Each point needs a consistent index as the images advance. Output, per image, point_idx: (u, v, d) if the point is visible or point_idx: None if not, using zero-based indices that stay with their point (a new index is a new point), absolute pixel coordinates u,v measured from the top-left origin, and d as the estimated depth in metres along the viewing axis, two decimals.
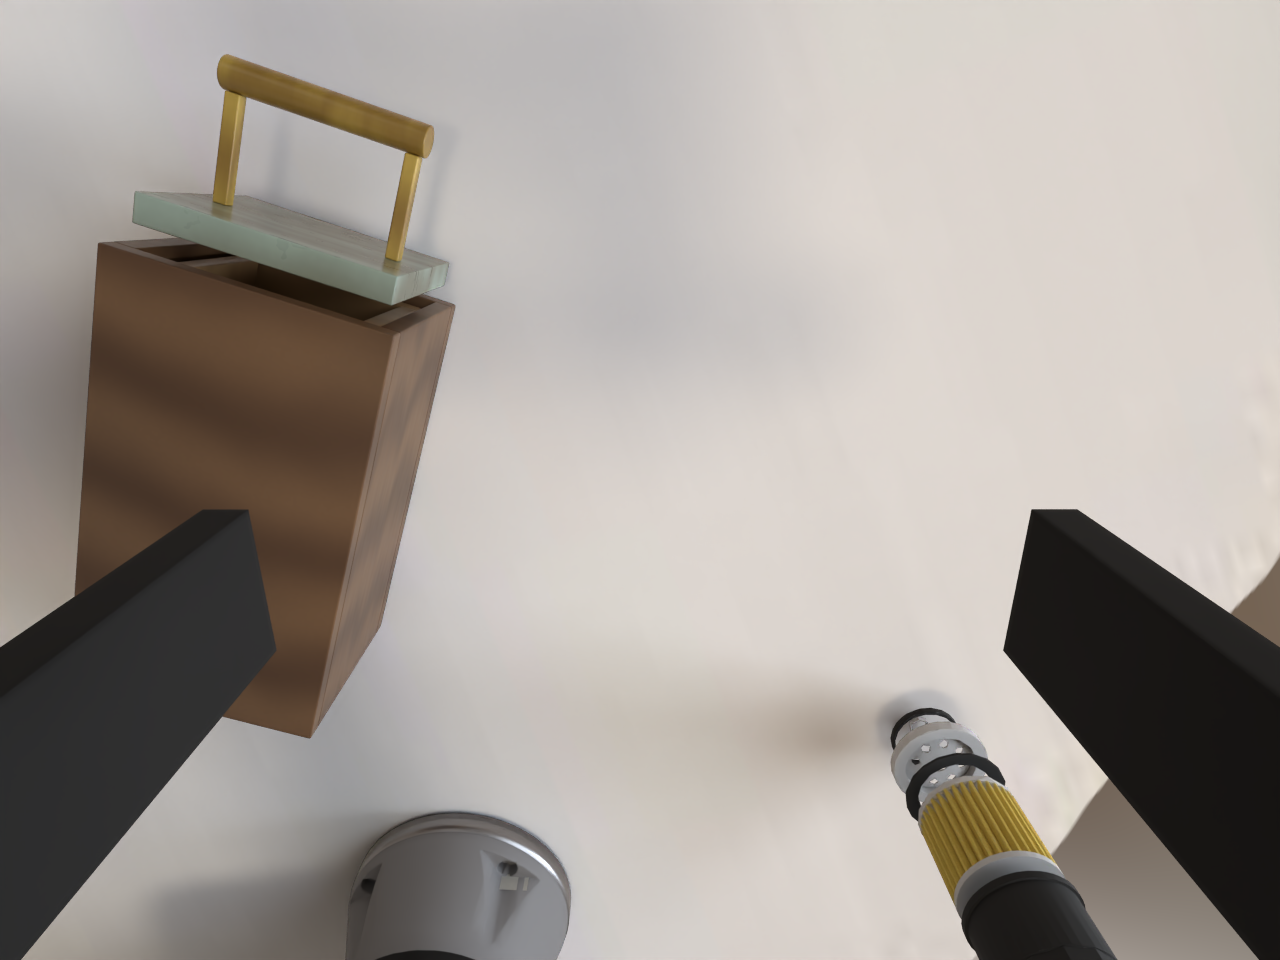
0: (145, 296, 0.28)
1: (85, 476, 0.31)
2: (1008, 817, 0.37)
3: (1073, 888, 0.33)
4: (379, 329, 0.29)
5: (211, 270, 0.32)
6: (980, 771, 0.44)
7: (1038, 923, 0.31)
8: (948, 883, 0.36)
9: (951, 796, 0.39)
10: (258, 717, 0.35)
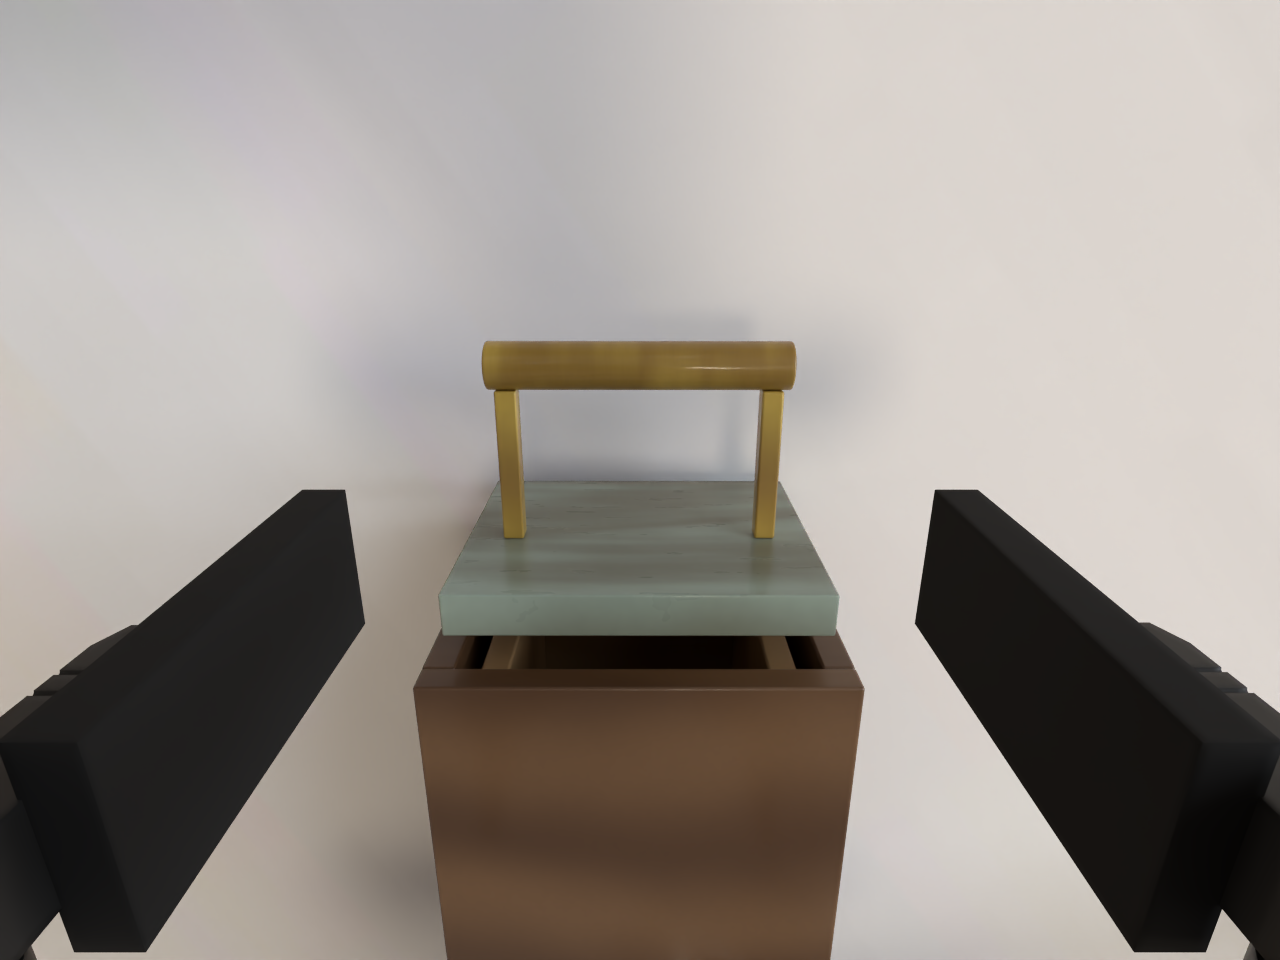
0: (492, 736, 0.19)
1: None
2: None
3: None
4: (835, 681, 0.18)
5: None
6: None
7: None
8: None
9: None
10: None
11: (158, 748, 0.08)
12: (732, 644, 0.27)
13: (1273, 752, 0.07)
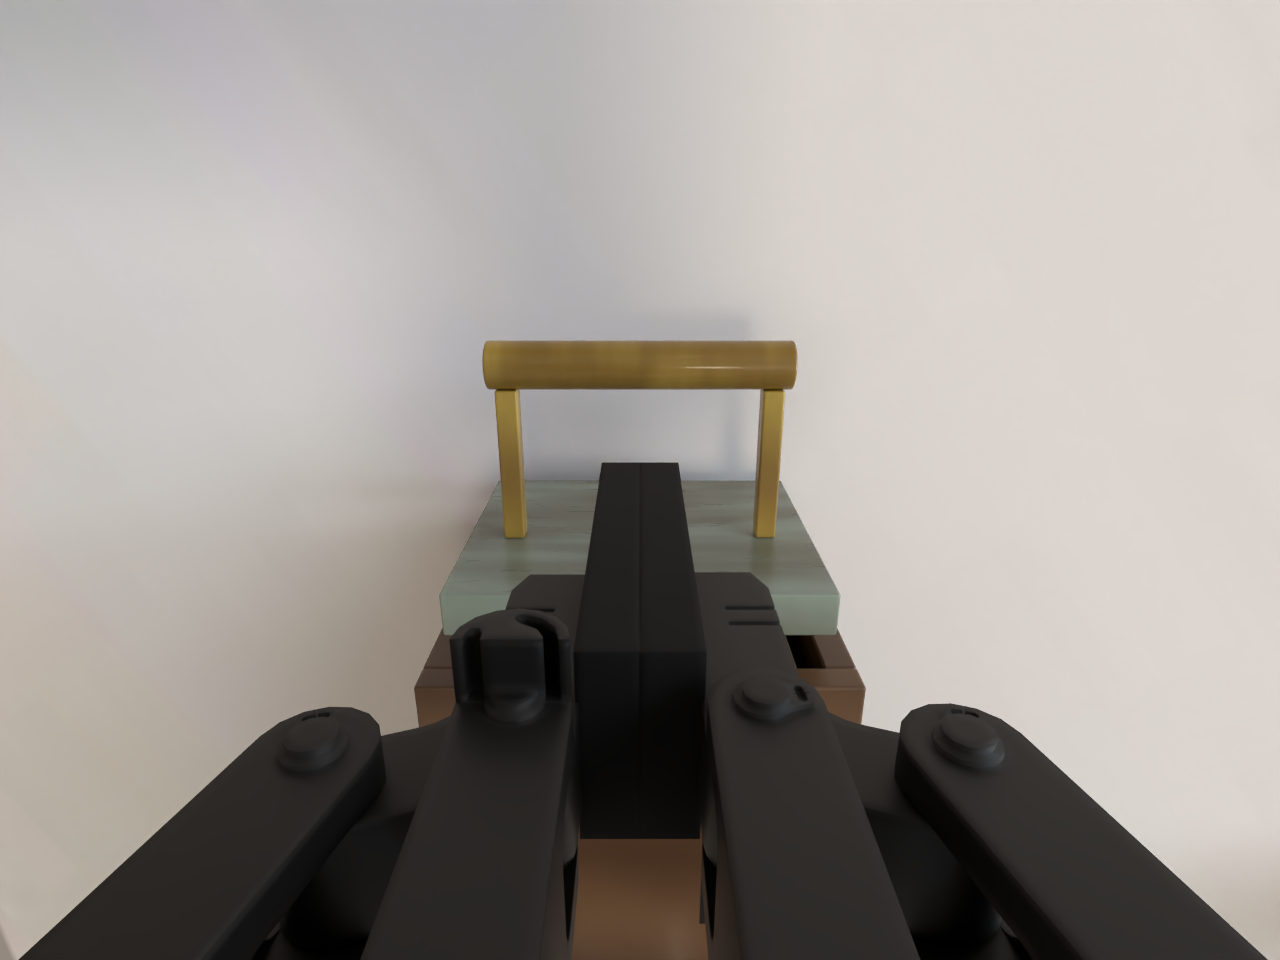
0: None
1: None
2: None
3: None
4: (836, 681, 0.18)
5: None
6: None
7: None
8: None
9: None
10: None
11: None
12: None
13: (704, 661, 0.08)
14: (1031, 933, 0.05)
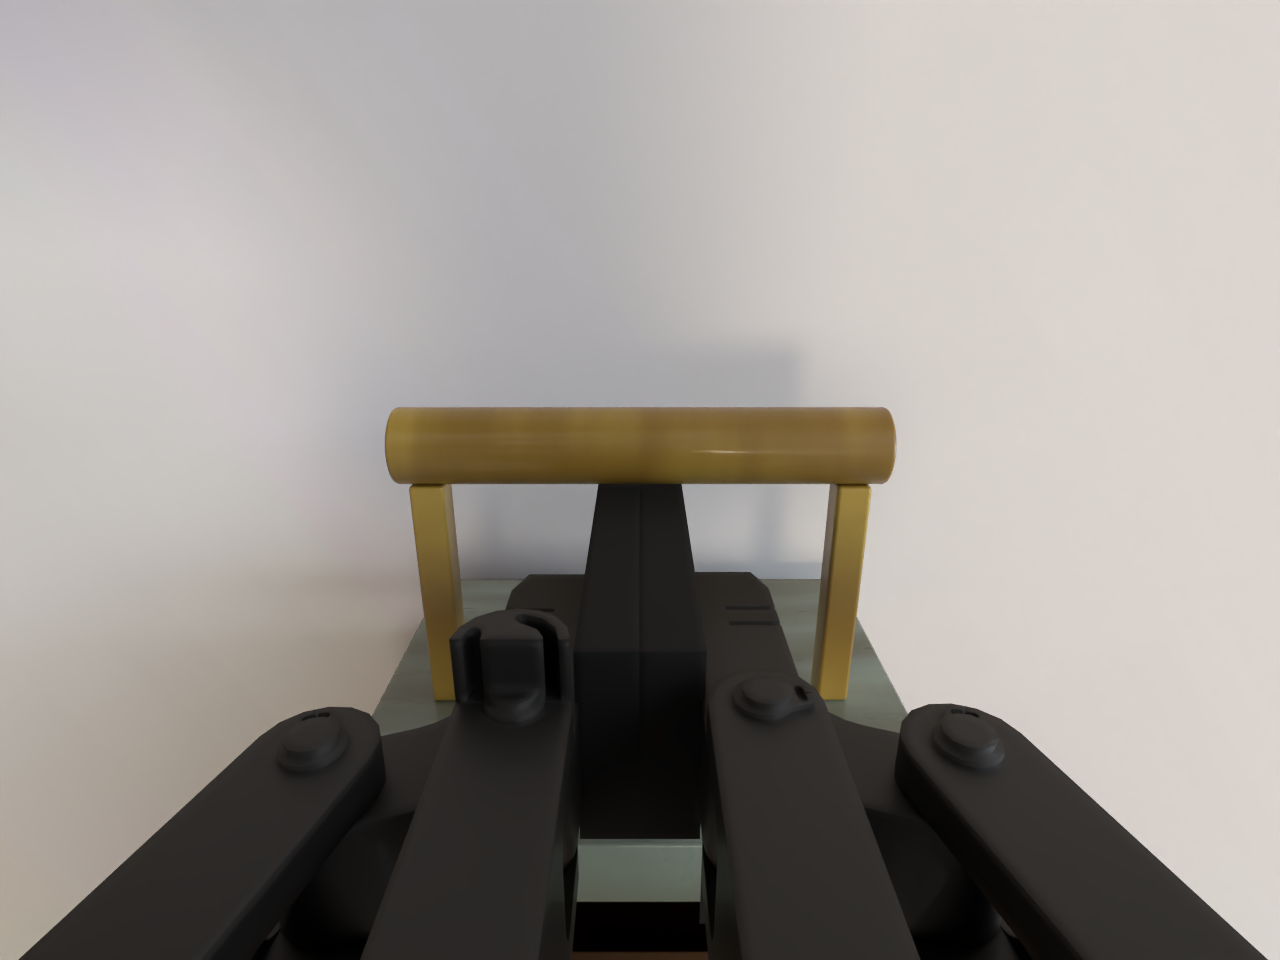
0: None
1: None
2: None
3: None
4: None
5: None
6: None
7: None
8: None
9: None
10: None
11: None
12: None
13: (703, 661, 0.08)
14: (1031, 933, 0.05)
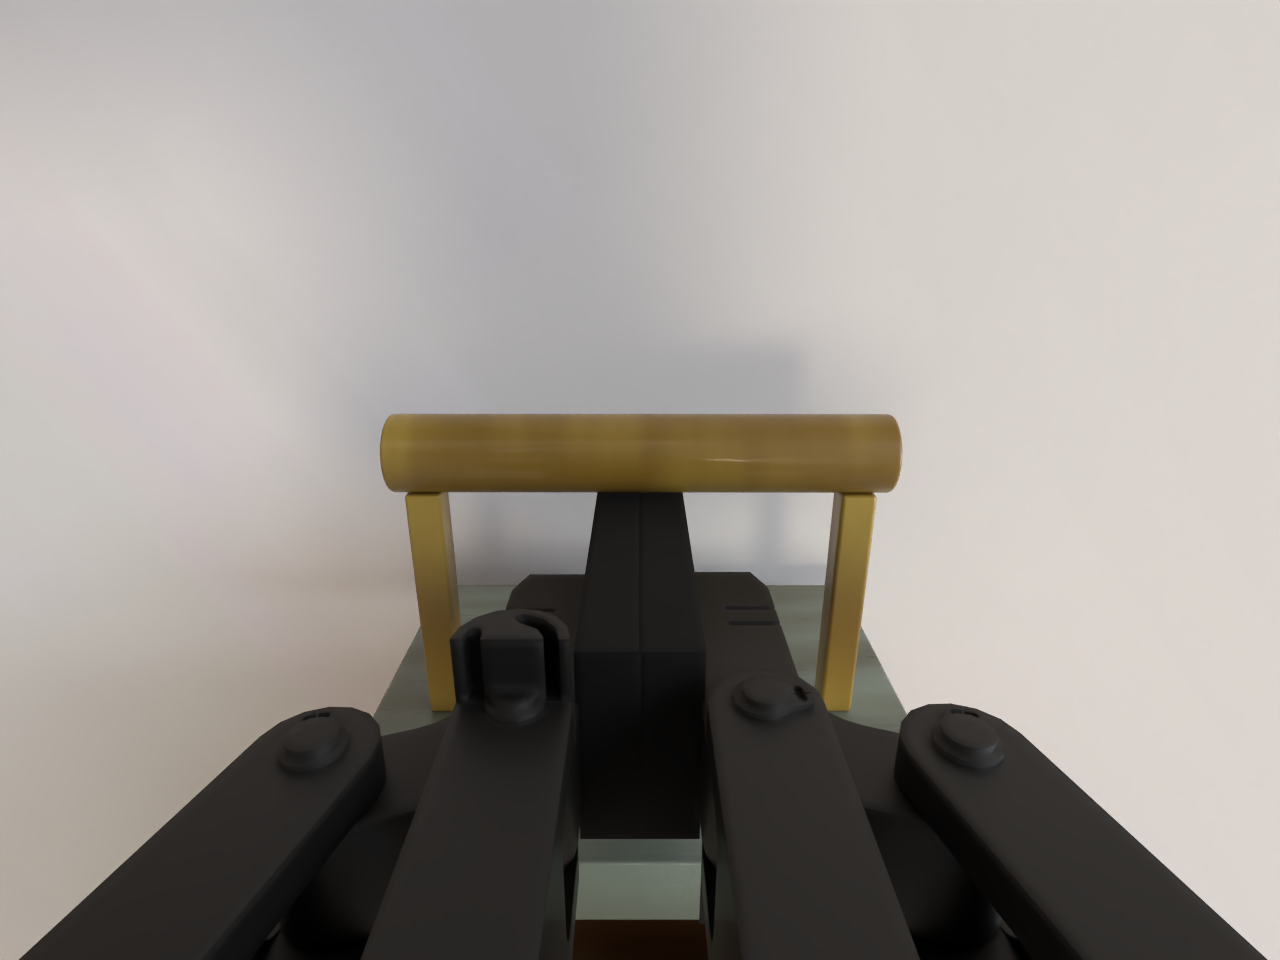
0: None
1: None
2: None
3: None
4: None
5: None
6: None
7: None
8: None
9: None
10: None
11: None
12: None
13: (703, 661, 0.08)
14: (1031, 932, 0.05)
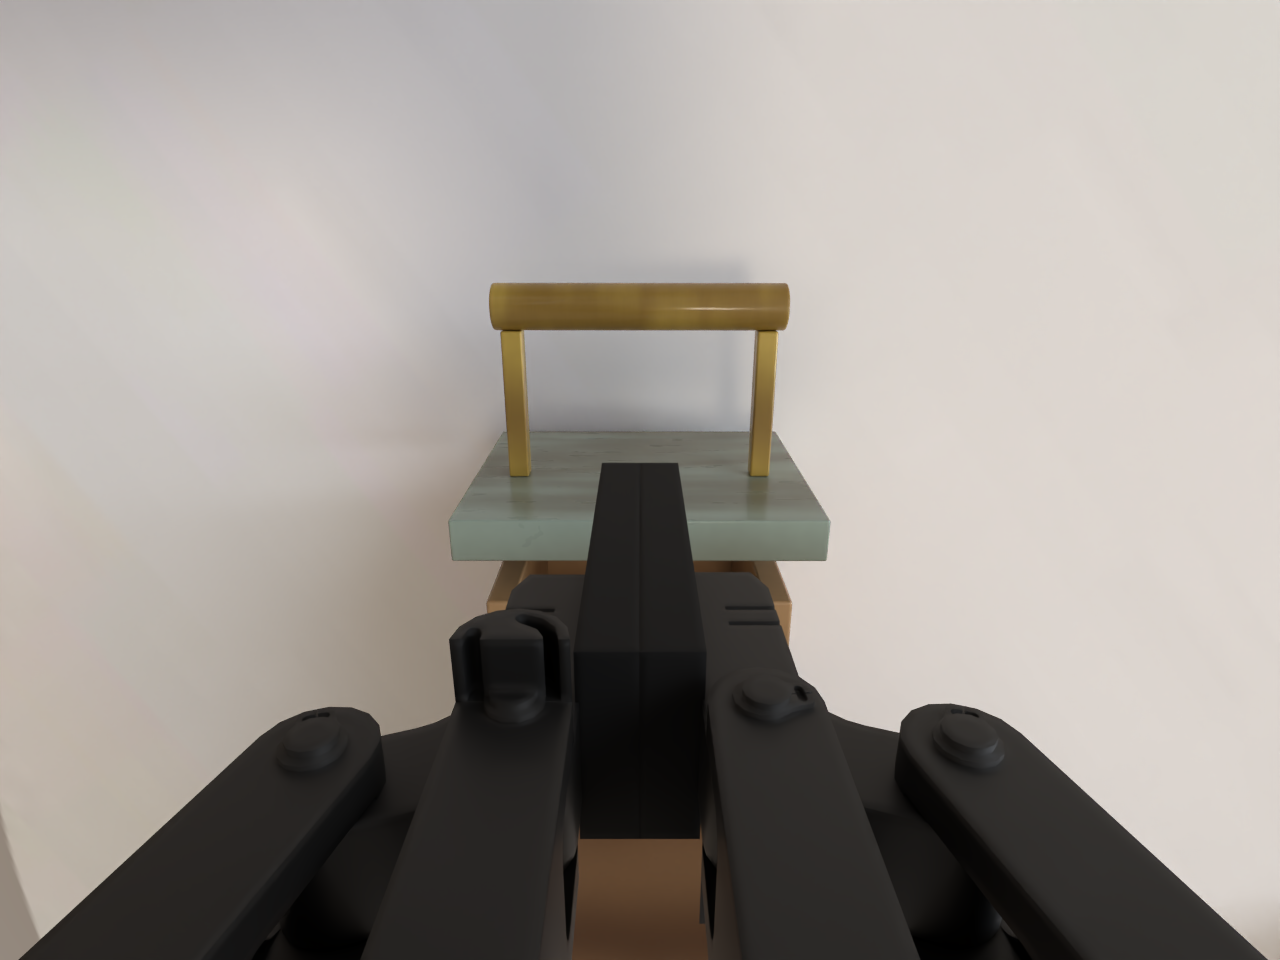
0: None
1: None
2: None
3: None
4: None
5: (528, 564, 0.23)
6: None
7: None
8: None
9: None
10: None
11: None
12: None
13: (703, 661, 0.08)
14: (1032, 933, 0.05)
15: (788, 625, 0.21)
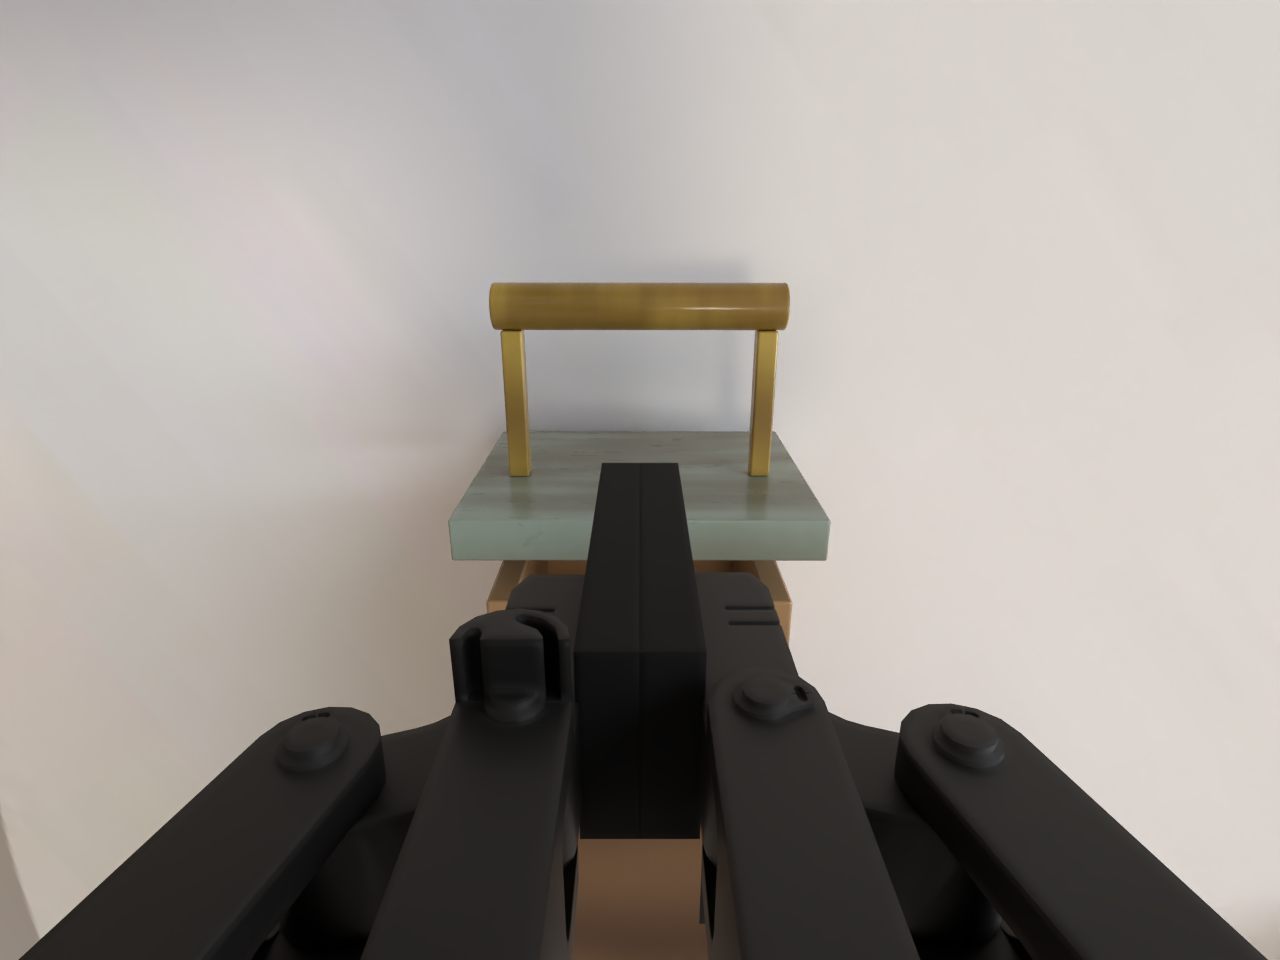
0: None
1: None
2: None
3: None
4: None
5: (528, 563, 0.23)
6: None
7: None
8: None
9: None
10: None
11: None
12: None
13: (703, 661, 0.08)
14: (1032, 933, 0.05)
15: (788, 625, 0.21)
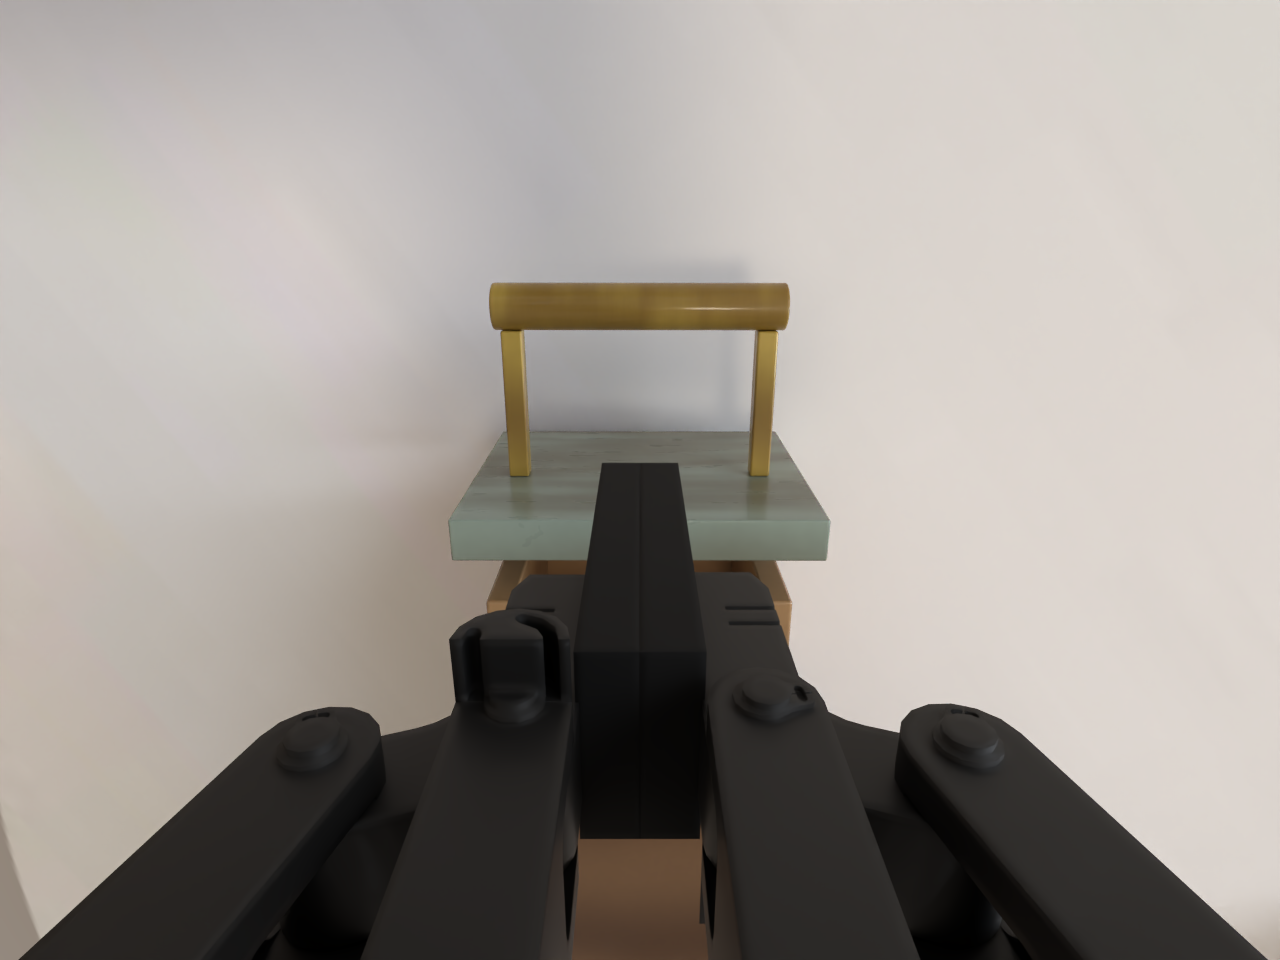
0: None
1: None
2: None
3: None
4: None
5: (528, 563, 0.23)
6: None
7: None
8: None
9: None
10: None
11: None
12: None
13: (703, 661, 0.08)
14: (1032, 933, 0.05)
15: (788, 625, 0.21)
